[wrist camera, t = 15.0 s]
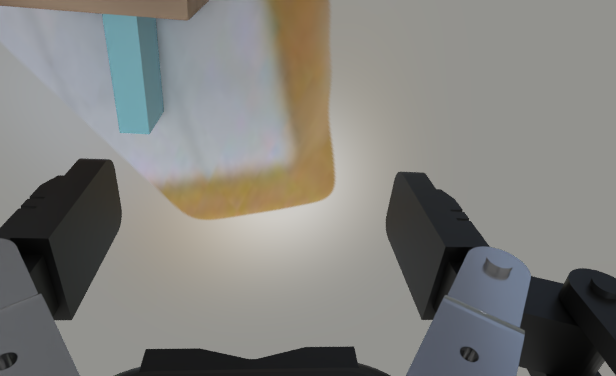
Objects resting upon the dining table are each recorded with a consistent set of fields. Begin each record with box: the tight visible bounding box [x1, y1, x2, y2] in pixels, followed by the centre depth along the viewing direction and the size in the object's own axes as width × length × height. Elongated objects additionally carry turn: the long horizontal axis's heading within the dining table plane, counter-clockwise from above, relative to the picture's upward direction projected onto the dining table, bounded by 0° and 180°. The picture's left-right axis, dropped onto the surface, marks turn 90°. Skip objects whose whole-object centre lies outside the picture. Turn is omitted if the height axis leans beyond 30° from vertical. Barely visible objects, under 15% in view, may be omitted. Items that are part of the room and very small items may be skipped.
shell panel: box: [102, 14, 164, 134], centre depth 35 cm, size 14×2×6 cm, turn 175°
